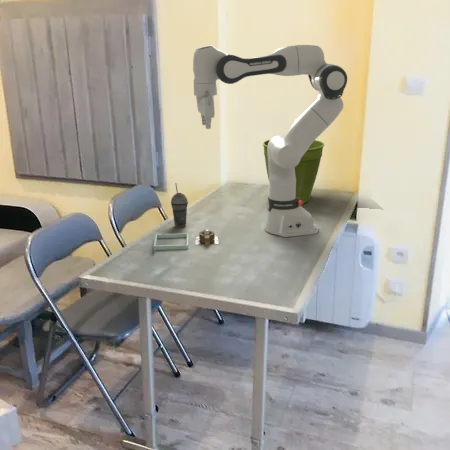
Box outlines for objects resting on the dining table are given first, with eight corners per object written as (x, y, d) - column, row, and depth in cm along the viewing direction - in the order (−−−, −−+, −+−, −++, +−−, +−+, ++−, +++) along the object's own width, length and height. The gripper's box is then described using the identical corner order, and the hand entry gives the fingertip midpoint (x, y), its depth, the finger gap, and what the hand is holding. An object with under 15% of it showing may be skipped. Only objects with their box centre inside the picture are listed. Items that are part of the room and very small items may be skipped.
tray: (188, 238, 214) (188, 233, 213) (188, 251, 202) (188, 245, 201) (156, 239, 213) (155, 234, 212) (153, 252, 201) (153, 246, 200)
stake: (217, 237, 214) (217, 226, 213) (218, 246, 206) (218, 233, 204) (195, 238, 214) (195, 226, 212) (195, 246, 206) (195, 234, 204)
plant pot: (253, 205, 256) (254, 146, 247) (272, 189, 282) (273, 136, 273) (313, 211, 246) (316, 150, 236) (327, 194, 272) (330, 139, 262)
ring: (199, 237, 212) (199, 230, 211) (214, 237, 213) (214, 230, 212) (199, 245, 204) (199, 238, 203) (215, 245, 204) (214, 237, 203)
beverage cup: (186, 231, 222) (184, 185, 216) (169, 230, 224) (167, 185, 217) (190, 225, 229) (189, 181, 222) (174, 224, 230) (172, 180, 224)
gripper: (218, 92, 192) (218, 130, 196) (209, 88, 211) (210, 122, 215) (201, 93, 191) (202, 131, 195) (193, 88, 210) (195, 123, 214)
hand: (206, 126), depth 205 cm, fingers open, 8 cm apart
